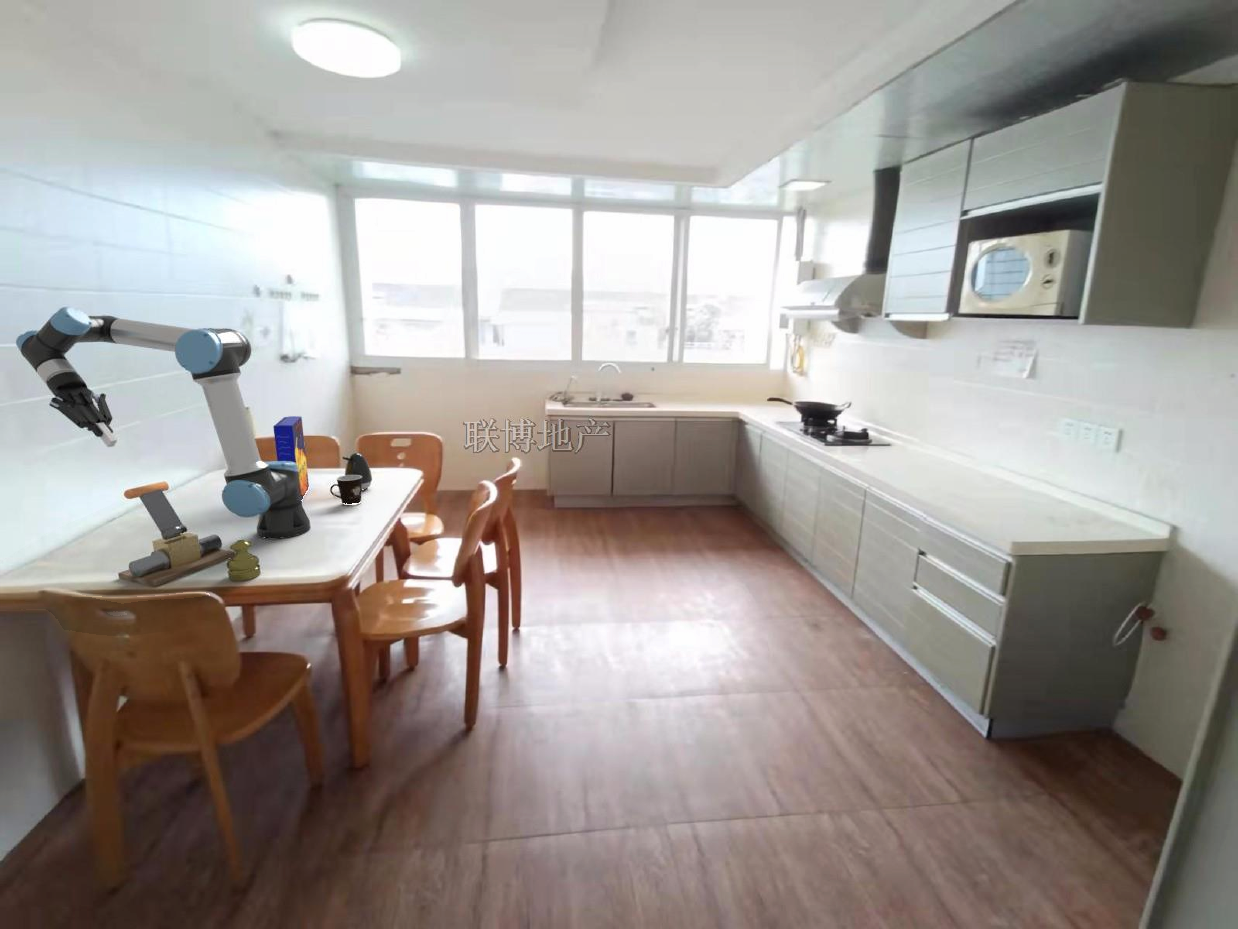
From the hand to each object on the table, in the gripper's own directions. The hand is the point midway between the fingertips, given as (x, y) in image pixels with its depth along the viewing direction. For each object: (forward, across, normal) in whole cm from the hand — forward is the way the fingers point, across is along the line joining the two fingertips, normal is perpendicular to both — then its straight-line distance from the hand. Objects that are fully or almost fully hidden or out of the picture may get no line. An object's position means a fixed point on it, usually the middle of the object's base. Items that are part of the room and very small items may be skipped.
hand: (112, 443), depth 165 cm
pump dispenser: (+29, -80, -18) cm, 87 cm away
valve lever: (+32, +1, -2) cm, 32 cm away
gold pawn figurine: (+53, -2, +6) cm, 53 cm away
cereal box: (+19, -62, -28) cm, 71 cm away
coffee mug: (+36, -63, -11) cm, 73 cm away
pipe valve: (+38, 0, -9) cm, 39 cm away
